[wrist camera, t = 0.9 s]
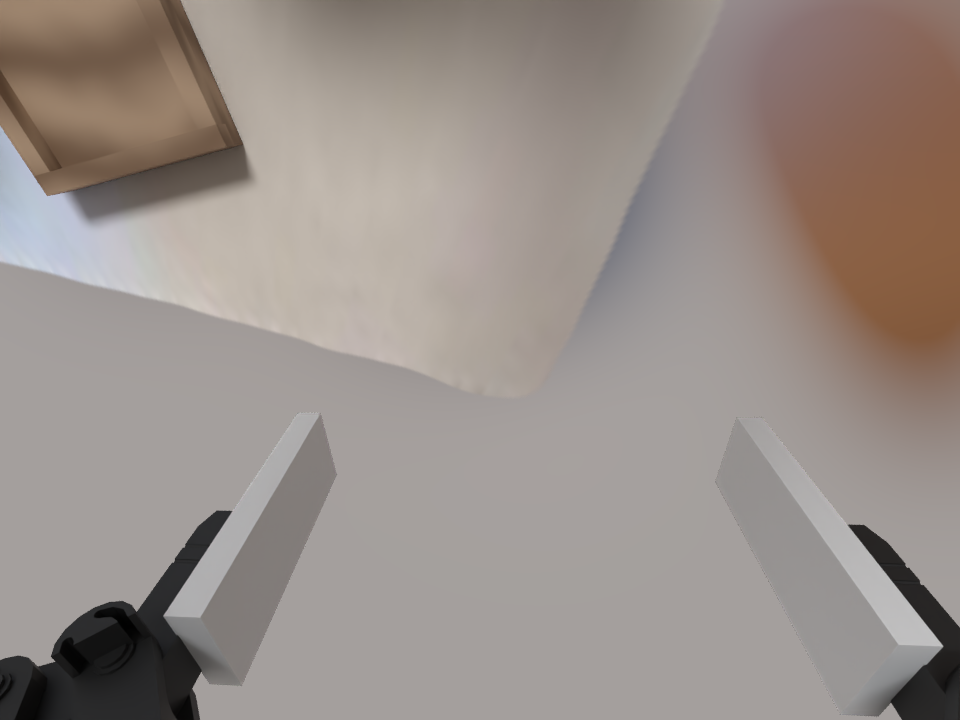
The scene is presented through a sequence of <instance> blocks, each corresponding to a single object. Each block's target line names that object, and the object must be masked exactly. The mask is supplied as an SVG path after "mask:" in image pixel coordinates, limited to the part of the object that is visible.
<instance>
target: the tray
mask: <svg viewBox="0 0 960 720" xmlns="http://www.w3.org/2000/svg"><path fill="white" fill-rule="evenodd" d="M0 126H1V127H2V129H3V130H4V132H5V133H6V135H7V136H8V138H9V139H10V141H11V142H12V144H13V145H14V147H15V148H16V150H17V151H18V153H19V154H20V156H21V157H22V159H23V160H24V162H25V163H26V165H27V166H28V168H29V169H30V171H31V172H32V174H33V175H34V177H35V178H36V180H37V181H38V183H39V184H40V186H41V187H42V189H43V190H44V192H45V193H46V195H47V196H50V195H55V194H60V193H65V192H70V191H74V190H78V189H82V188H85V187H89V186H93V185H96V184H100V183H104V182H107V181H111V180H115V179H118V178H122V177H126V176H129V175H133V174H137V173H140V172H144V171H148V170H151V169H155V168H159V167H162V166H166V165H170V164H173V163H177V162H180V161H184V160H188V159H191V158H195V157H199V156H202V155H206V154H210V153H213V152H217V151H221V150H224V149H228V148H232V147H235V146H239V145H243V143H242V141H241V138H240V136H239V134H238V132H237V129H236V127H235V125H234V123H233V120H232V118H231V116H230V113H229V111H228V109H227V107H226V104H225V102H224V100H223V97H222V95H221V93H220V91H219V88H218V86H217V84H216V82H215V79H214V77H213V75H212V72H211V70H210V68H209V66H208V63H207V61H206V59H205V56H204V54H203V52H202V50H201V47H200V45H199V43H198V41H197V38H196V36H195V34H194V31H193V29H192V27H191V25H190V22H189V20H188V18H187V15H186V13H185V11H184V9H183V6H182V4H181V2H180V0H0Z"/></svg>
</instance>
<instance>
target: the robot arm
mask: <svg viewBox="0 0 960 720" xmlns="http://www.w3.org/2000/svg"><path fill="white" fill-rule="evenodd" d="M336 475H337V474H336V470H335V466H334V462H333V458H332V455H331V451H330V447H329V443H328V439H327V436H326V432H325V428H324V424H323V420H322V416H321V413H297V415H296V416H295V418H294V419H293V421H292V422H291V424H290V425H289V427H288V428H287V430H286V431H285V433H284V434H283V436H282V437H281V439H280V440H279V442H278V443H277V445H276V446H275V448H274V449H273V451H272V452H271V454H270V455H269V457H268V458H267V460H266V462H265V463H264V464H263V466H262V468H261V469H260V471H259V472H258V474H257V475H256V477H255V478H254V480H253V481H252V483H251V484H250V486H249V487H248V489H247V490H246V492H245V493H244V495H243V496H242V498H241V499H240V501H239V502H238V504H237V505H236V507H235V508H234V510H233V511H216V512H215V513H213V514H212V515H211V516H210V517H209V518H207V519H206V520H205V521H204V522H203V523H202V524H200V525H199V526H198V527H197V529H196V530H195V532H194V533H193V534H192V536H191V537H190V538H189V540H188V541H187V543H186V544H185V545H186V546H185V548H182V550H181V551H180V552H179V554H178V555H177V557H176V558H175V562H174V563H172V564H171V565H170V566H169V568H168V569H167V571H166V572H165V573H164V575H163V576H162V577H161V579H160V580H159V582H158V583H157V584H156V586H155V587H154V589H153V590H152V591H151V593H150V594H149V596H148V597H147V598H146V600H145V601H144V603H143V604H142V605H141V607H140V608H139V610H138V611H137V612H136V611H135V609H134V608H133V607H132V605H130V604H128V603H126V602H123V601H118V602H109V603H106V604H103V605H100V606H98V607H95V608H93V609H91V610H90V611H88V612H87V613H85V614H83V615H82V616H80V617H79V618H77V619H76V620H75V621H74V622H73V623H72V624H71V625H70V626H69V627H68V628H67V629H65V631H64V632H63V633H62V635H61V636H60V638H59V639H58V640H57V642H56V643H55V645H54V648H53V652H52V655H51V657H52V658H53V659H54V660H55V661H56V662H53V663H50V664H46V665H42V666H39V667H38V666H36V665H35V663H33V662H32V661H31V660H30V659H29V658H27V657H22V656H14V657H10V658H5V659H2V660H0V720H200V717H199V711H198V706H197V700H196V695H195V693H194V691H193V689H192V688H193V686H194V684H195V682H196V680H197V678H198V677H199V675H200V673H201V672H202V674H203V675H204V676H205V678H206V679H207V681H208V682H209V684H217V685H237V686H239V685H240V686H242V684H243V682H244V680H245V678H246V675H247V673H248V671H249V669H250V666H251V664H252V662H253V660H254V657H255V655H256V653H257V651H258V649H259V646H260V644H261V642H262V640H263V638H264V635H265V633H266V631H267V628H268V626H269V624H270V622H271V620H272V617H273V615H274V613H275V611H276V609H277V606H278V604H279V602H280V600H281V598H282V595H283V593H284V591H285V588H286V586H287V584H288V582H289V580H290V577H291V575H292V573H293V571H294V569H295V566H296V564H297V562H298V560H299V558H300V555H301V553H302V551H303V549H304V546H305V544H306V542H307V540H308V537H309V535H310V533H311V531H312V528H313V526H314V524H315V522H316V520H317V517H318V515H319V513H320V511H321V508H322V506H323V504H324V502H325V500H326V498H327V495H328V493H329V491H330V489H331V486H332V484H333V482H334V480H335V477H336ZM715 482H716V484H717V486H718V488H719V489H720V491H721V493H722V495H723V497H724V499H725V501H726V502H727V505H728V506H729V508H730V510H731V512H732V514H733V516H734V518H735V520H736V521H737V523H738V525H739V527H740V529H741V531H742V532H743V534H744V536H745V538H746V540H747V542H748V544H749V545H750V547H751V549H752V551H753V553H754V555H755V557H756V559H757V560H758V562H759V564H760V566H761V568H762V570H763V572H764V574H765V575H766V577H767V579H768V581H769V583H770V585H771V587H772V588H773V590H774V592H775V594H776V596H777V598H778V600H779V601H780V603H781V605H782V607H783V609H784V611H785V613H786V615H787V616H788V618H789V620H790V622H791V624H792V626H793V628H794V629H795V631H796V633H797V635H798V637H799V639H800V641H801V642H802V644H803V646H804V648H805V650H806V652H807V654H808V656H809V657H810V659H811V661H812V663H813V665H814V667H815V669H816V670H817V672H818V674H819V676H820V678H821V680H822V682H823V683H824V685H825V687H826V689H827V691H828V693H829V695H830V697H831V698H832V700H833V702H834V704H835V706H836V708H837V710H838V711H839V713H840V715H860V716H879V715H880V714H881V713H882V712H883V711H884V709H886V707H887V706H888V705H889V704H890V703H892V705H893V706H894V708H895V709H896V711H897V712H898V714H899V716H900V717H901V719H902V720H960V627H959V626H958V625H957V624H956V623H955V622H954V620H953V619H952V618H951V617H950V616H949V614H948V613H947V612H946V611H945V610H944V609H943V607H942V606H941V605H940V604H939V603H938V601H937V600H936V599H935V598H934V597H933V596H932V594H931V593H930V592H929V591H928V590H927V589H926V587H925V586H924V585H921V584H920V580H919V579H918V578H917V577H916V576H915V574H914V573H913V572H912V571H911V570H910V568H907V567H906V566H905V563H904V562H903V560H902V559H901V558H900V557H899V556H898V554H897V553H896V552H895V551H894V550H893V548H892V547H891V546H890V545H889V544H888V543H887V542H886V541H884V540H883V539H882V538H881V537H879V536H878V535H877V534H875V533H874V532H872V531H871V530H870V529H869V528H867V527H866V526H865V525H847V524H846V523H845V521H844V520H843V519H842V518H841V516H840V515H839V514H838V512H837V511H836V510H835V509H834V507H833V506H832V505H831V504H830V502H829V501H828V500H827V499H826V497H825V496H824V495H823V493H821V491H820V490H819V489H818V487H817V486H816V485H815V483H814V482H813V481H812V480H811V478H810V477H809V476H808V474H807V473H806V472H805V471H804V470H803V468H802V467H801V466H800V464H799V463H798V462H797V461H796V459H795V458H794V457H793V455H792V454H791V453H790V452H789V450H788V449H787V448H786V447H785V446H784V444H783V443H782V442H781V440H780V439H779V438H778V437H777V435H776V434H775V433H774V431H773V430H772V429H771V428H770V426H769V425H768V424H767V423H766V421H765V420H764V419H763V418H762V417H760V418H759V417H737V418H736V421H735V424H734V427H733V430H732V433H731V436H730V439H729V442H728V445H727V448H726V451H725V454H724V457H723V460H722V463H721V466H720V469H719V472H718V475H717V478H716V481H715Z"/></svg>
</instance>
